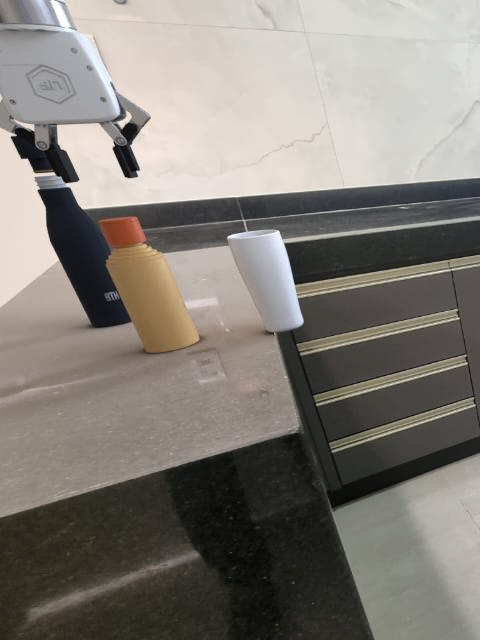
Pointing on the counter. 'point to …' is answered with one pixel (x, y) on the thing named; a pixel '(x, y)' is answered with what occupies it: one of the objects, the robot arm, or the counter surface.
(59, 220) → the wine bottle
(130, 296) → the sauce bottle
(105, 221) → the cap
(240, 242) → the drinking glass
